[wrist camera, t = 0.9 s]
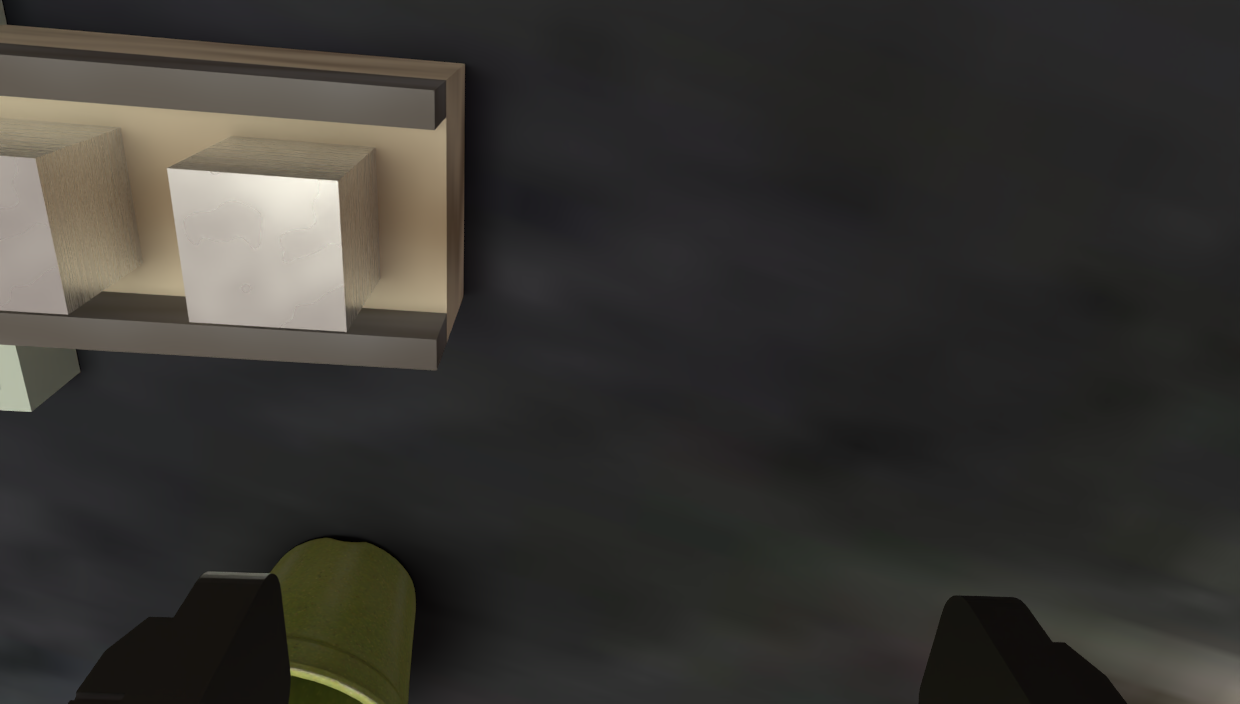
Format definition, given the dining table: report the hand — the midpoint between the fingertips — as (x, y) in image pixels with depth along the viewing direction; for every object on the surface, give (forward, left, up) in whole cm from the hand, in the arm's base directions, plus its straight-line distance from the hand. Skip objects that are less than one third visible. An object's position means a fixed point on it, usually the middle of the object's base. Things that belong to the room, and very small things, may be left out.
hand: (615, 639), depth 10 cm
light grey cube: (0, -8, -17) cm, 19 cm away
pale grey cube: (0, -15, -17) cm, 23 cm away
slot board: (0, -11, -21) cm, 24 cm away
